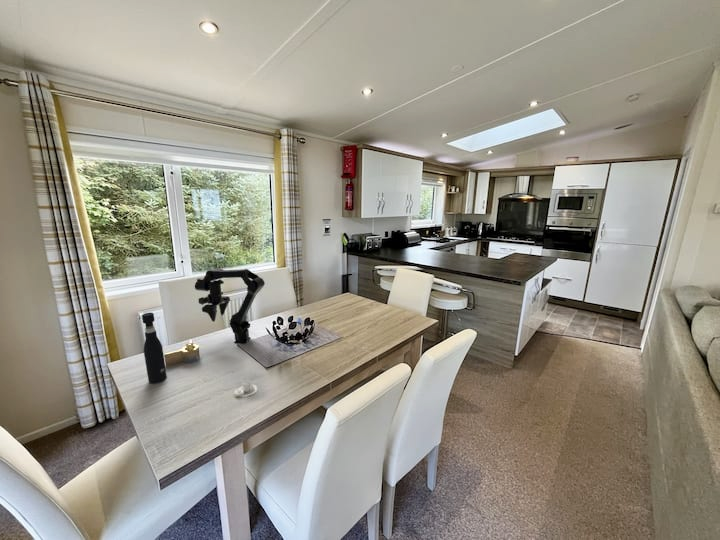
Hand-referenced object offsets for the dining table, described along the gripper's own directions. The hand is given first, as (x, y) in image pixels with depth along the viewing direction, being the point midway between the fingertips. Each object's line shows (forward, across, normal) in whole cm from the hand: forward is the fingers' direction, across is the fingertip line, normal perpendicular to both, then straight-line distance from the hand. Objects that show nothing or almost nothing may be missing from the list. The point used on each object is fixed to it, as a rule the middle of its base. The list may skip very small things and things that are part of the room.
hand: (218, 318), depth 159 cm
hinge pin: (+12, +23, -2) cm, 26 cm away
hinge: (+12, +22, -4) cm, 25 cm away
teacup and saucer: (+13, +44, +32) cm, 56 cm away
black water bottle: (+12, +40, -6) cm, 42 cm away
